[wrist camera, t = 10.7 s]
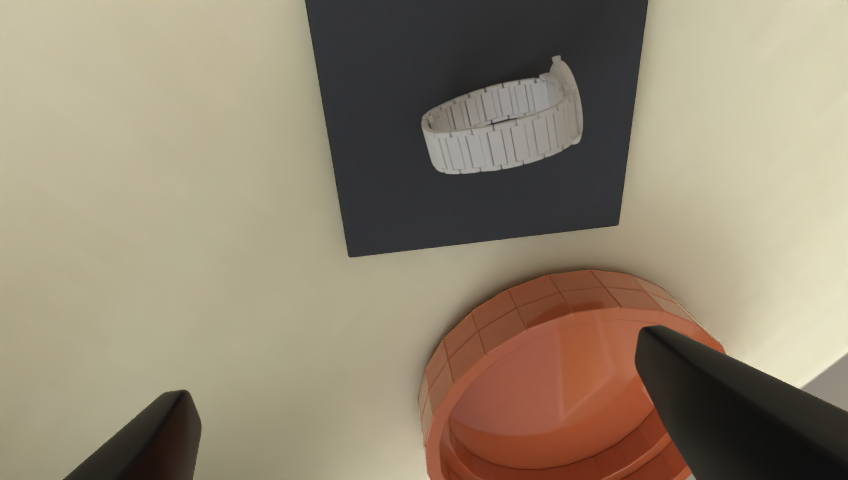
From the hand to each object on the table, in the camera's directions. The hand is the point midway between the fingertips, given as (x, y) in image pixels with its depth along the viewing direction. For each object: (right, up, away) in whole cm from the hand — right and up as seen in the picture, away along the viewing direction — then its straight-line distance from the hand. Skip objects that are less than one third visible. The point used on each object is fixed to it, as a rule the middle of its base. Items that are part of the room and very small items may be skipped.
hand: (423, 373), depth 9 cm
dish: (+7, -5, +17) cm, 19 cm away
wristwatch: (+2, +8, +9) cm, 12 cm away
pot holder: (+2, +8, +9) cm, 13 cm away
